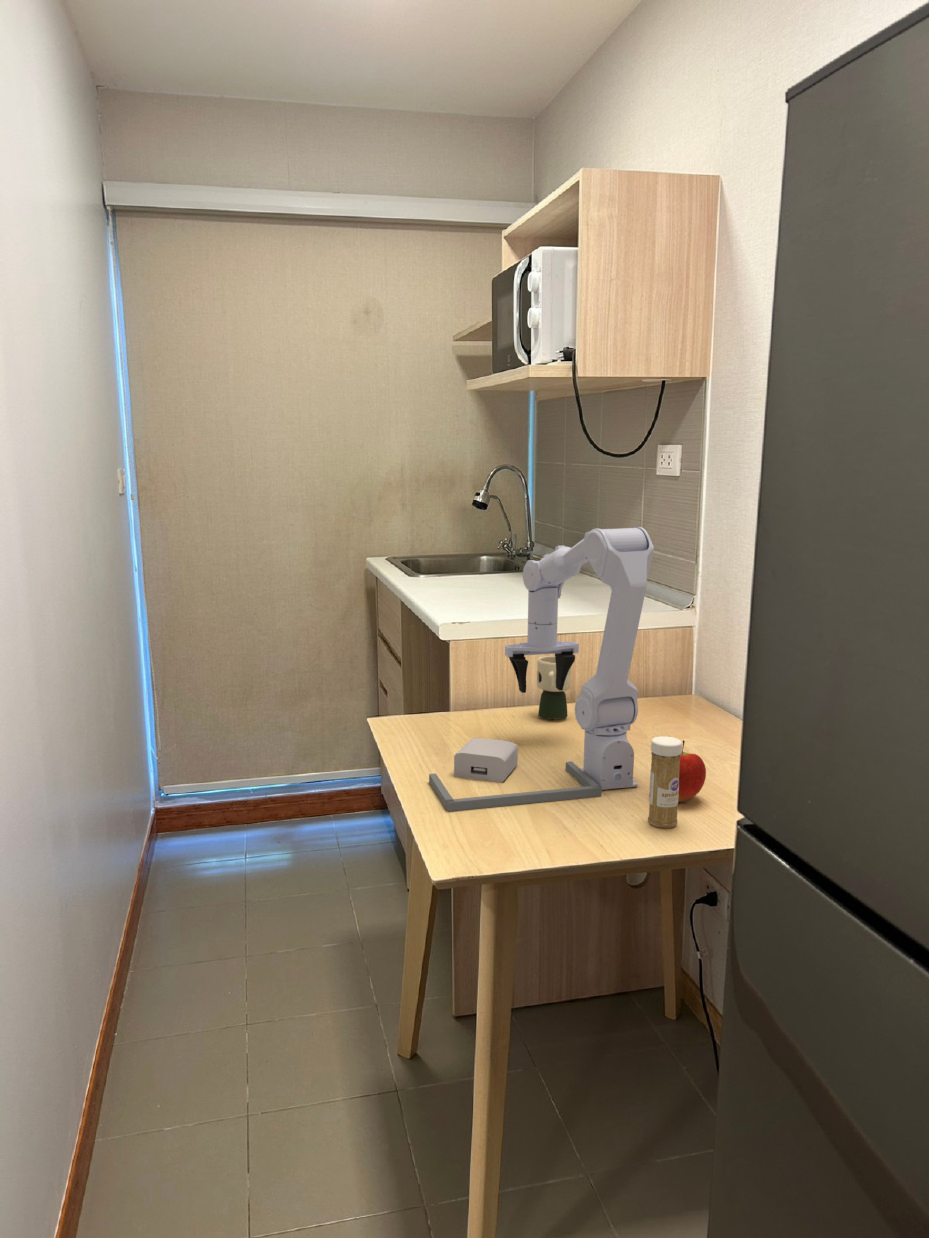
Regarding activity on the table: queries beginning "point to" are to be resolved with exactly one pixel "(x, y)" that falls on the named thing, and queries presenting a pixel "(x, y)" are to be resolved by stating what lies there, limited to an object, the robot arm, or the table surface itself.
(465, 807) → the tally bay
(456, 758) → the charger
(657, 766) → the sprinkles bottle
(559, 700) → the character mug
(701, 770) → the apple
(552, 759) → the table surface
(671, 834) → the table surface
